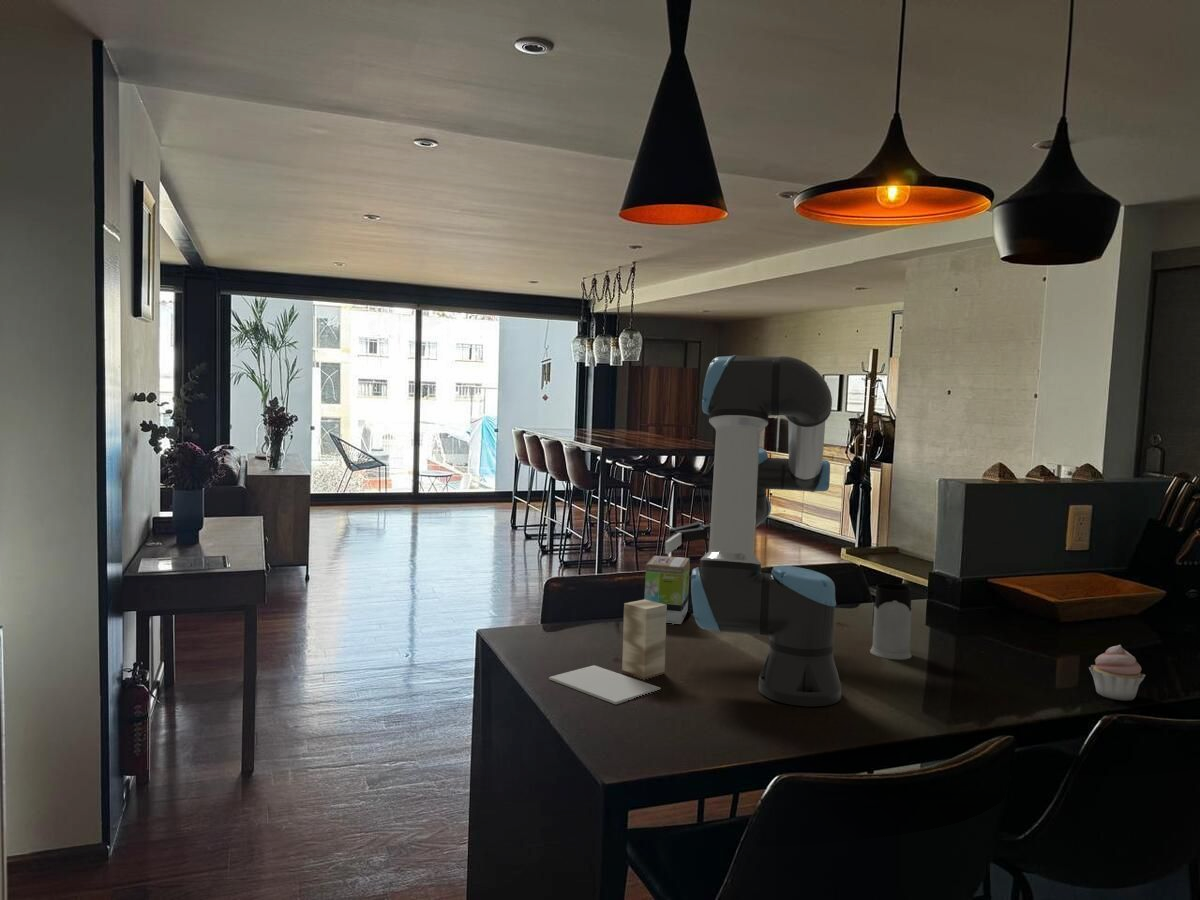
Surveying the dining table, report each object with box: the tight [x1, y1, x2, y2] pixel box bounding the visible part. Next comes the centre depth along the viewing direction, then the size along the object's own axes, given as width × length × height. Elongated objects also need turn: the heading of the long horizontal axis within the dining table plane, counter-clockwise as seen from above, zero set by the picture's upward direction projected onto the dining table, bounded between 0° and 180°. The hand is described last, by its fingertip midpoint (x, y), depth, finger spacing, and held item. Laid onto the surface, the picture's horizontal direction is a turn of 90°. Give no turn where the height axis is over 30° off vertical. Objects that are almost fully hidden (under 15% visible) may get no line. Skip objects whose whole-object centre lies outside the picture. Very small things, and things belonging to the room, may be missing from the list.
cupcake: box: [1088, 644, 1146, 701], centre depth 161 cm, size 9×9×10 cm
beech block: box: [621, 598, 667, 681], centre depth 167 cm, size 6×6×14 cm
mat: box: [548, 665, 661, 705], centre depth 159 cm, size 18×12×1 cm, turn 44°
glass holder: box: [869, 583, 913, 660], centre depth 189 cm, size 9×14×15 cm, turn 166°
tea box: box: [643, 555, 691, 625], centre depth 214 cm, size 15×10×15 cm, turn 168°
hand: (695, 553), depth 178 cm, fingers open, 13 cm apart
